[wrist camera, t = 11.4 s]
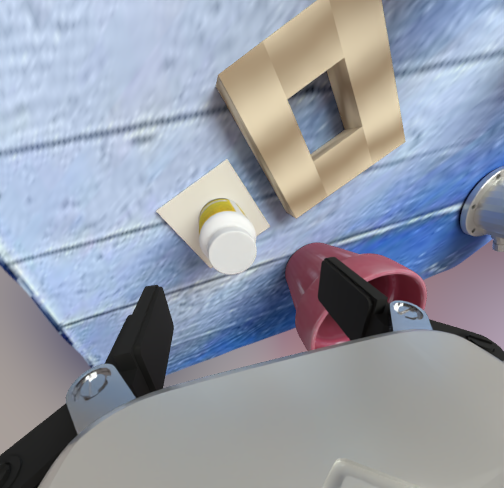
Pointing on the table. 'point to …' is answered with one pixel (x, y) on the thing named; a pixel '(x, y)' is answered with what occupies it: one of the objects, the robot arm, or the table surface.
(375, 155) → the socket block
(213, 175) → the ceramic tile
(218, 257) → the supplement bottle
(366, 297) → the robot arm
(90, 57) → the table surface
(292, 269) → the plant pot
